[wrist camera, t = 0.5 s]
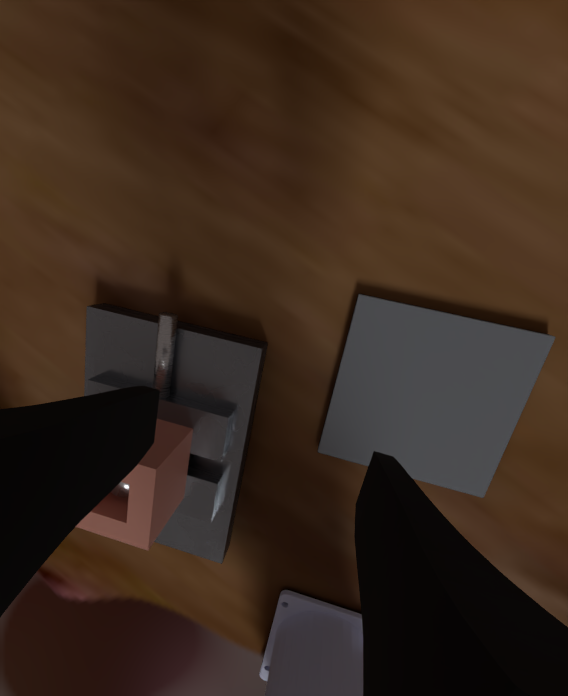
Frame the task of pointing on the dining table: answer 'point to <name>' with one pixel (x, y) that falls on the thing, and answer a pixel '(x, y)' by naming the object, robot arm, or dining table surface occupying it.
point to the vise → (185, 408)
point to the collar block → (147, 491)
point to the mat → (431, 391)
